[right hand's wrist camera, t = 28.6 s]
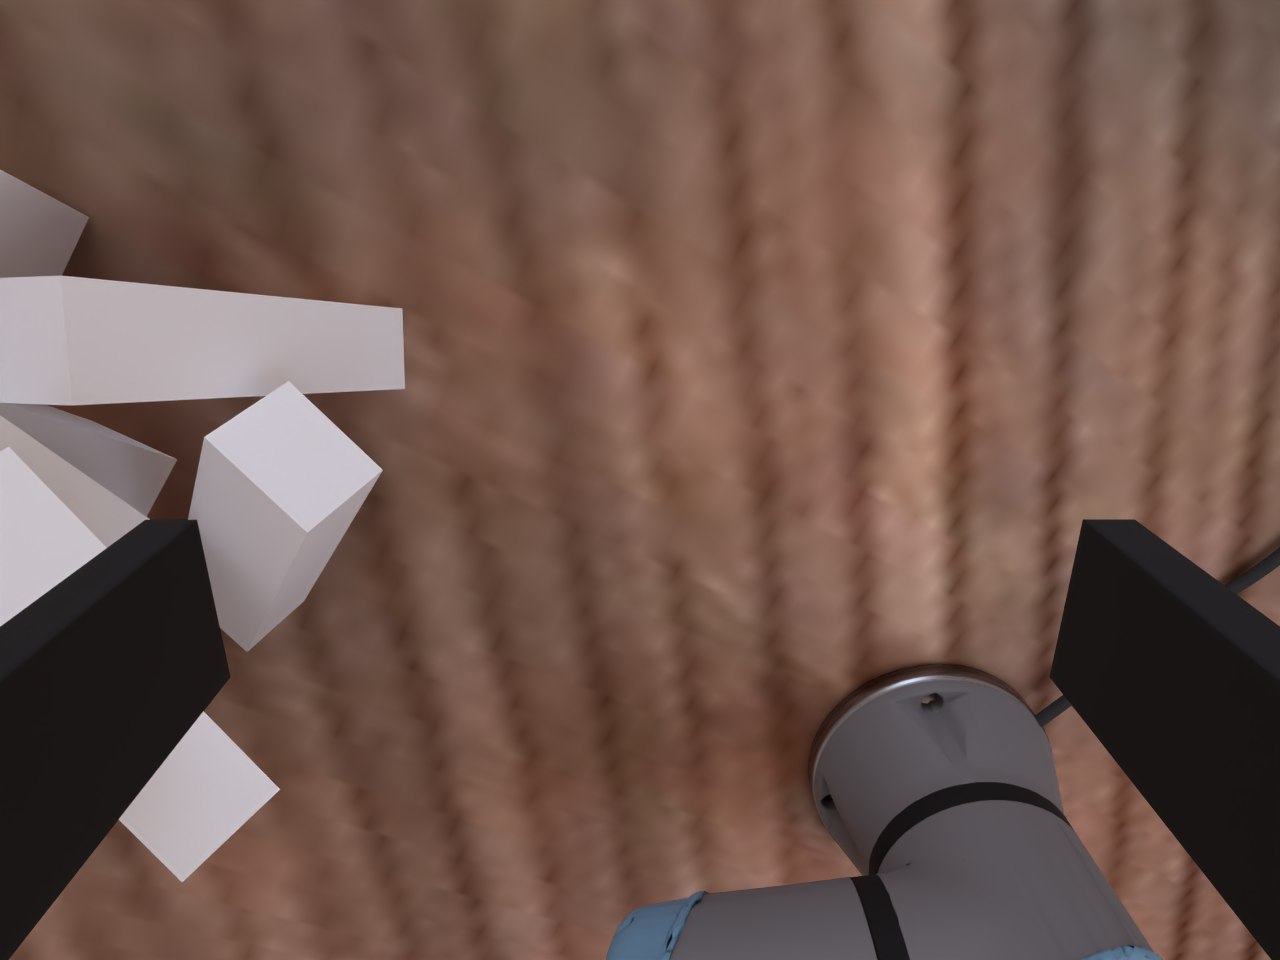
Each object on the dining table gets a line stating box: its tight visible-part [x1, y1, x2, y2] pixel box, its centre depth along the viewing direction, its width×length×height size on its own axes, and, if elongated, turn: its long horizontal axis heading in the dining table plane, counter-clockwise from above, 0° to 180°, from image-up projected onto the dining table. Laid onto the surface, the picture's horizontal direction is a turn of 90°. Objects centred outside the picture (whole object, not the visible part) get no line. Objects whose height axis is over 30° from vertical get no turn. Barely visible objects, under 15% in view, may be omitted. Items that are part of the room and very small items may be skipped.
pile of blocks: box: [0, 170, 405, 882], centre depth 37 cm, size 35×30×35 cm
